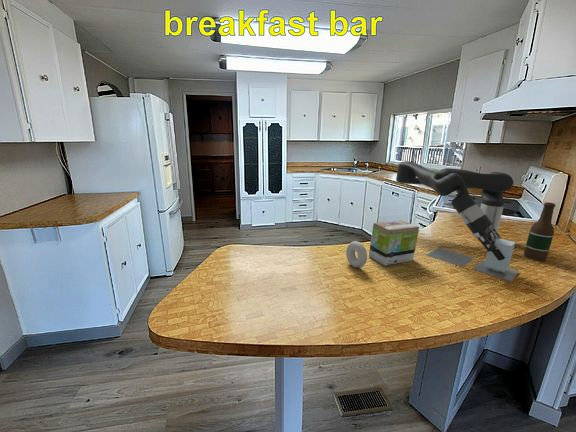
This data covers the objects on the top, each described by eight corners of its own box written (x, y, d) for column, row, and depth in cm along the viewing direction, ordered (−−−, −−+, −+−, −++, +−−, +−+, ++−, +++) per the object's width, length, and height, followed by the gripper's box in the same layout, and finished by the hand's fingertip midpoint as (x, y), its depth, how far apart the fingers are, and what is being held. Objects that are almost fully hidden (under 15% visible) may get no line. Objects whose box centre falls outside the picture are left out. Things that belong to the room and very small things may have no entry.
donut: (367, 271, 104) (370, 246, 101) (360, 273, 102) (363, 247, 99) (350, 260, 112) (352, 237, 110) (343, 262, 111) (345, 238, 108)
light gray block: (484, 265, 107) (490, 240, 105) (488, 261, 112) (494, 237, 109) (504, 272, 103) (511, 246, 100) (508, 267, 107) (515, 242, 104)
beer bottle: (550, 262, 118) (568, 206, 112) (529, 260, 119) (545, 204, 113) (538, 254, 125) (554, 201, 119) (518, 253, 127) (533, 200, 120)
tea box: (385, 267, 108) (390, 230, 104) (368, 256, 117) (372, 222, 113) (414, 261, 114) (420, 225, 110) (395, 251, 123) (400, 219, 119)
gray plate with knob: (472, 270, 108) (474, 261, 107) (481, 261, 116) (483, 253, 115) (510, 282, 100) (513, 273, 99) (518, 272, 107) (520, 263, 106)
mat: (425, 256, 120) (425, 255, 120) (438, 248, 129) (439, 247, 129) (462, 267, 110) (462, 266, 110) (473, 258, 119) (474, 257, 119)
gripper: (471, 220, 117) (499, 256, 112) (459, 227, 108) (489, 266, 103) (489, 210, 112) (519, 248, 107) (478, 216, 103) (510, 257, 98)
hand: (504, 257), depth 105 cm, fingers closed on light gray block, 6 cm apart
